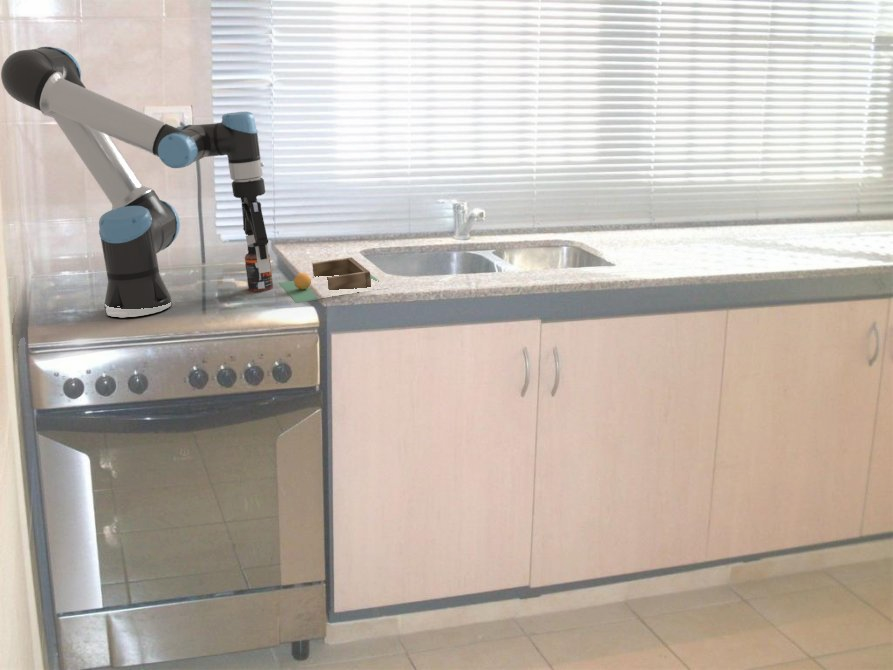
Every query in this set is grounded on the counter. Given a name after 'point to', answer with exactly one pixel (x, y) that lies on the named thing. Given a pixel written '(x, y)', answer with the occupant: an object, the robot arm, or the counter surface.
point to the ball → (302, 281)
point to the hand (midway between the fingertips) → (260, 266)
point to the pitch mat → (302, 291)
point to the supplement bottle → (256, 273)
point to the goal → (343, 274)
